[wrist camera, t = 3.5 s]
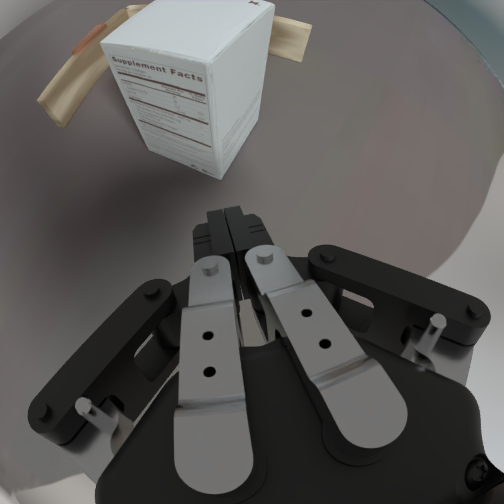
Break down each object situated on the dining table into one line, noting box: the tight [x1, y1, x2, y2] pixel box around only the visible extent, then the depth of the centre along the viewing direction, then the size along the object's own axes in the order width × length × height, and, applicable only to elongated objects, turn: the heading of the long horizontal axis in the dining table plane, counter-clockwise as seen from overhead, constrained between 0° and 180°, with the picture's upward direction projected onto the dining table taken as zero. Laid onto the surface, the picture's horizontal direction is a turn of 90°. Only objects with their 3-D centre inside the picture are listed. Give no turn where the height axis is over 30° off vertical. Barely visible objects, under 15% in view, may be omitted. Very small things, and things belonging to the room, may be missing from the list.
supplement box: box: [100, 0, 275, 180], centre depth 16 cm, size 7×7×13 cm
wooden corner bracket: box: [37, 4, 312, 127], centre depth 21 cm, size 23×17×6 cm
